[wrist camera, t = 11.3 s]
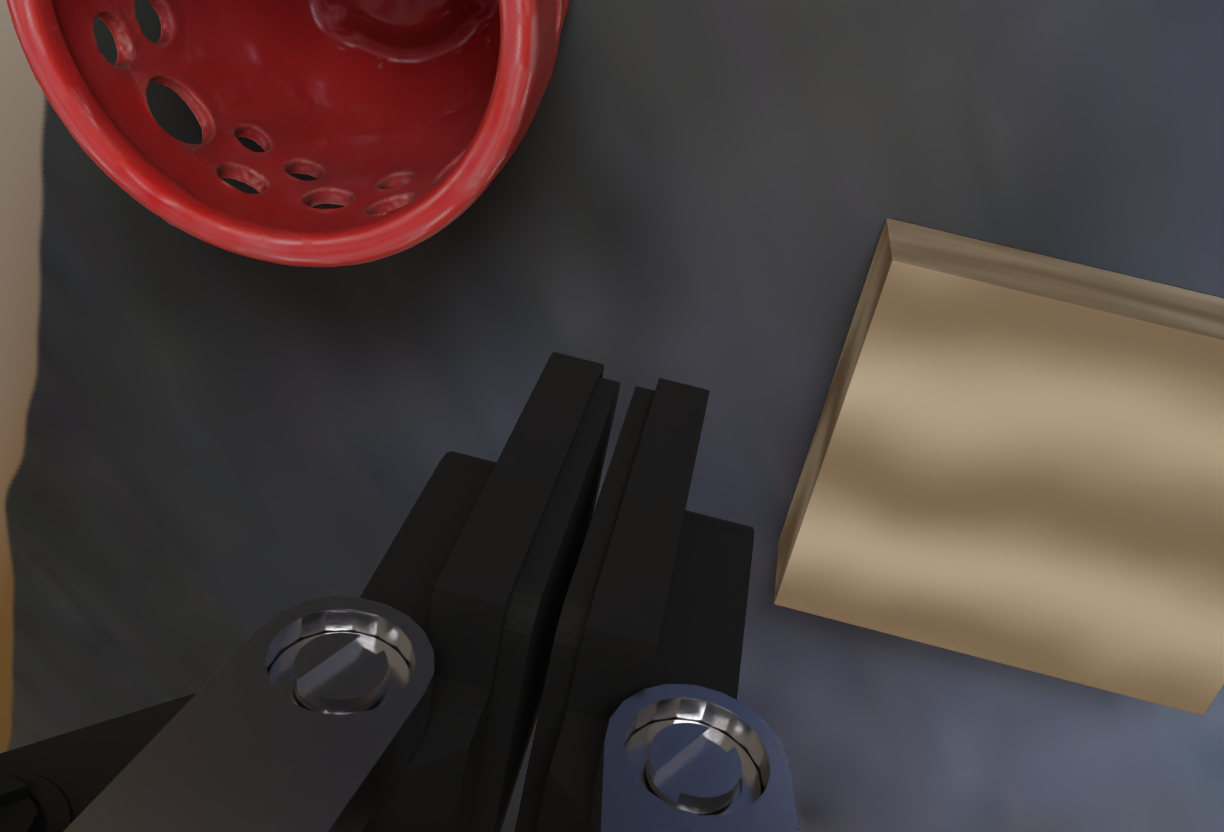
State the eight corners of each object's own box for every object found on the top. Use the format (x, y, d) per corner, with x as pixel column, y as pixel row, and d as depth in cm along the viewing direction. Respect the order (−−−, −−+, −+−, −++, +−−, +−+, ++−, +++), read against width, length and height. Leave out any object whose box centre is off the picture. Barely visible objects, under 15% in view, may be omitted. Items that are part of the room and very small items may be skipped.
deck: (886, 217, 37) (892, 260, 34) (1362, 331, 36) (1418, 387, 33) (778, 541, 44) (774, 604, 41) (1173, 643, 43) (1203, 715, 40)
